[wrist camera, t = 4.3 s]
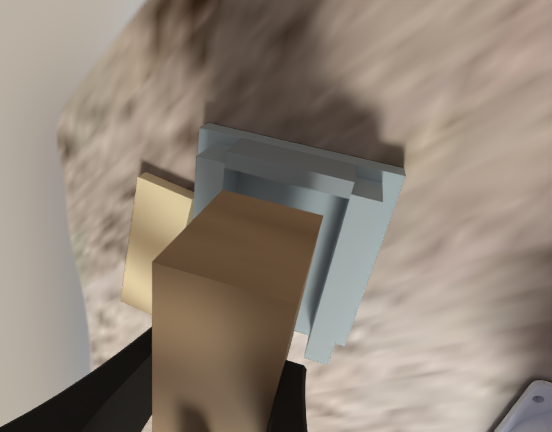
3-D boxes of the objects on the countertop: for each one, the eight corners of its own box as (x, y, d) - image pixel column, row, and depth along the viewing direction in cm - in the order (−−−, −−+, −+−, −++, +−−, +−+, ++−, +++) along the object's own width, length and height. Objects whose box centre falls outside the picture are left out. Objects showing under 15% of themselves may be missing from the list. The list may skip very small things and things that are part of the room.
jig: (345, 333, 21) (341, 377, 18) (196, 288, 22) (172, 323, 19) (404, 168, 16) (409, 195, 13) (208, 122, 17) (177, 139, 14)
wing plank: (173, 307, 24) (164, 320, 23) (131, 289, 24) (120, 301, 23) (201, 190, 19) (192, 199, 18) (150, 169, 19) (137, 176, 18)
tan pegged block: (282, 376, 16) (232, 560, 10) (206, 352, 16) (119, 515, 11) (323, 215, 12) (279, 371, 6) (222, 189, 12) (101, 314, 7)
